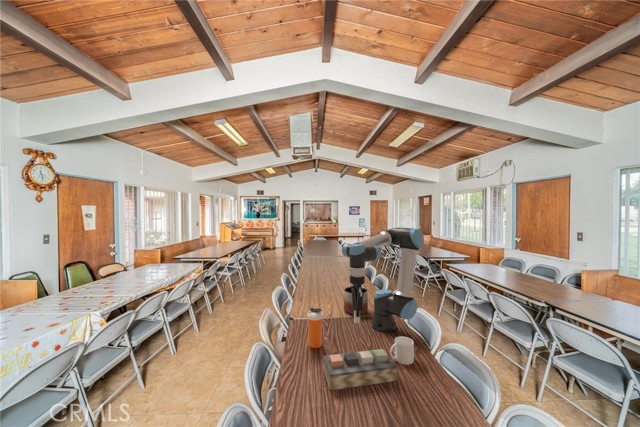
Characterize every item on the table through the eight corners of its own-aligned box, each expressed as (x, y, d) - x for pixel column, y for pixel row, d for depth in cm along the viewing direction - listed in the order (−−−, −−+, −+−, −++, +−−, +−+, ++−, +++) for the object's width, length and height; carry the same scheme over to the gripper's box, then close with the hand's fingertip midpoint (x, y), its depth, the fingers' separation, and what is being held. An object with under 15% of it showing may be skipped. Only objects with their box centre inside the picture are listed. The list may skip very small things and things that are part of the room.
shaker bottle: (321, 350, 133) (321, 313, 133) (305, 348, 135) (305, 311, 135) (324, 341, 142) (324, 306, 142) (309, 340, 144) (309, 305, 144)
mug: (409, 354, 129) (409, 336, 129) (416, 364, 120) (416, 345, 120) (386, 354, 129) (386, 336, 129) (392, 365, 120) (392, 346, 120)
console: (382, 361, 123) (382, 348, 123) (396, 380, 109) (396, 365, 109) (323, 369, 117) (323, 355, 117) (330, 390, 103) (329, 374, 103)
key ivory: (368, 359, 117) (368, 350, 117) (373, 365, 112) (373, 356, 112) (358, 360, 116) (358, 351, 116) (362, 367, 111) (362, 358, 111)
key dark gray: (354, 360, 115) (354, 352, 115) (358, 367, 110) (358, 358, 110) (344, 362, 114) (344, 353, 114) (347, 368, 109) (347, 359, 109)
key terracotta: (340, 362, 114) (340, 354, 114) (343, 369, 109) (343, 360, 109) (329, 364, 113) (329, 355, 113) (332, 370, 108) (332, 361, 108)
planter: (341, 307, 194) (341, 286, 194) (363, 305, 196) (363, 286, 196) (346, 316, 176) (346, 294, 176) (371, 315, 178) (370, 293, 178)
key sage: (382, 357, 118) (382, 349, 118) (387, 363, 113) (387, 355, 113) (372, 358, 117) (372, 350, 117) (377, 365, 112) (377, 356, 112)
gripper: (346, 272, 130) (346, 317, 130) (354, 278, 117) (353, 328, 117) (359, 271, 131) (359, 316, 131) (369, 278, 119) (368, 327, 119)
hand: (356, 322), depth 124 cm, fingers closed
